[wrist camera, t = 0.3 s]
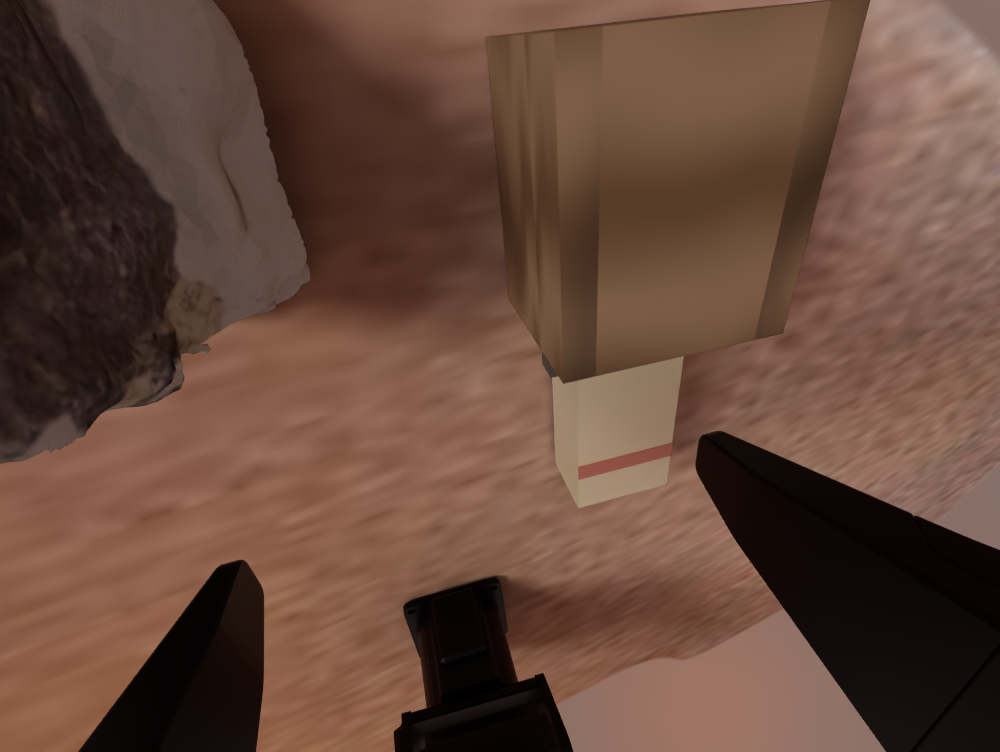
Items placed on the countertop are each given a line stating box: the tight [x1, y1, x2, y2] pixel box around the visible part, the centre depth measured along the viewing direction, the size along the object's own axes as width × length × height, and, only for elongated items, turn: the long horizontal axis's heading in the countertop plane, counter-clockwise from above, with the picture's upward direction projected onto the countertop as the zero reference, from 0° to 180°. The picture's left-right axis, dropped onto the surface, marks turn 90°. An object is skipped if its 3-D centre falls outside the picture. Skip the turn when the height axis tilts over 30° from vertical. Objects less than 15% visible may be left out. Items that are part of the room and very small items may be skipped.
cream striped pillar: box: [552, 356, 684, 508], centre depth 24 cm, size 14×5×4 cm, turn 5°
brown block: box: [486, 0, 870, 384], centre depth 18 cm, size 11×9×7 cm
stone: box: [0, 0, 310, 463], centre depth 13 cm, size 14×10×15 cm
